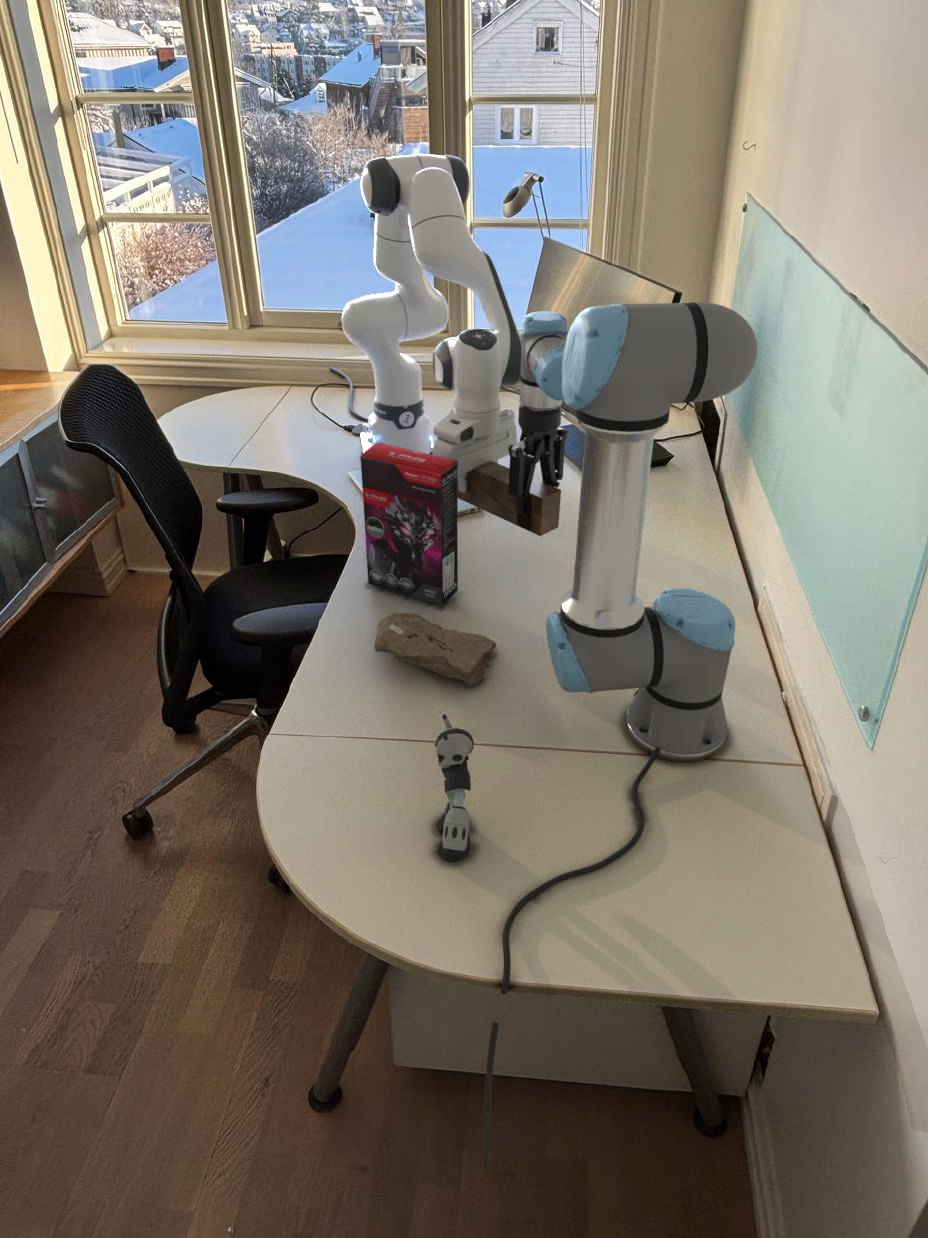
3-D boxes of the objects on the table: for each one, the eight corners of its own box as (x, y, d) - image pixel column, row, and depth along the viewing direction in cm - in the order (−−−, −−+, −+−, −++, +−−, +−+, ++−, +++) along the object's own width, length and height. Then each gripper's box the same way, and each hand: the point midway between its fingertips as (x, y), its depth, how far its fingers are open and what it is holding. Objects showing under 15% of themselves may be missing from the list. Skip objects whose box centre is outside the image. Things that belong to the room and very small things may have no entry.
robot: (476, 896, 116) (478, 779, 105) (437, 897, 116) (436, 781, 105) (467, 786, 132) (469, 675, 121) (434, 787, 132) (432, 676, 121)
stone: (350, 659, 152) (357, 626, 150) (382, 628, 166) (388, 598, 163) (469, 701, 149) (478, 669, 146) (492, 666, 162) (500, 636, 160)
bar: (558, 527, 174) (561, 489, 170) (540, 536, 171) (542, 498, 167) (470, 487, 188) (471, 452, 183) (452, 495, 185) (452, 459, 180)
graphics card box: (364, 585, 178) (356, 453, 162) (384, 569, 183) (377, 440, 167) (442, 608, 171) (441, 473, 156) (460, 591, 176) (461, 458, 161)
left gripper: (502, 401, 183) (500, 465, 190) (426, 428, 171) (427, 496, 178) (526, 409, 179) (522, 475, 187) (450, 438, 167) (450, 507, 175)
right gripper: (557, 386, 169) (550, 500, 182) (488, 411, 158) (486, 531, 171) (590, 396, 165) (580, 513, 178) (521, 423, 154) (515, 545, 167)
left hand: (475, 485), depth 182 cm, fingers closed on bar, 5 cm apart
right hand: (533, 521), depth 174 cm, fingers closed on bar, 5 cm apart
